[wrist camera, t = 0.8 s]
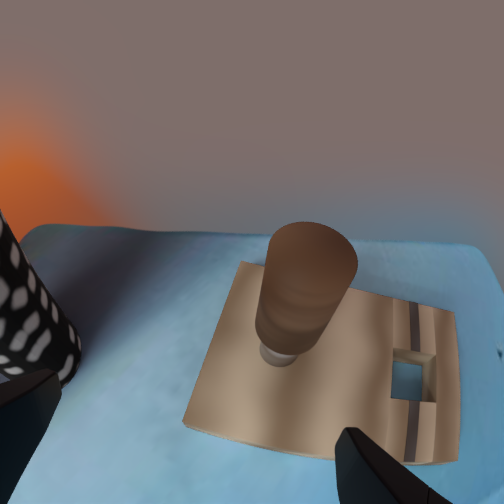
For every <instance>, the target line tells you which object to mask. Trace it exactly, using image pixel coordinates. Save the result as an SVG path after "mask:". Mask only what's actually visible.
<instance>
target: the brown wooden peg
mask: <svg viewBox="0 0 504 504" xmlns="http://www.w3.org/2000/svg"><path fill="white" fill-rule="evenodd" d="M357 268H358V260H357V255H356V252H355V250H354V248H353V247H352V245H351V244H350V242H349V241H348V240H347V239H346V238H345V237H344V236H343V235H341V234H340V233H339V232H337V231H335V230H334V229H332V228H330V227H328V226H325V225H322V224H319V223H314V222H296V223H291V224H288V225H286V226H283V227H282V228H280V229H279V230H277V231H276V232H275V233H274V234H273V236H272V238H271V239H270V242H269V246H268V251H267V257H266V263H265V268H264V274H263V279H262V285H261V291H260V296H259V302H258V307H257V313H256V318H255V329H256V333H257V335H258V337H259V339H260V340H261V343H260V354H261V356H262V358H263V359H264V361H265V362H267V363H268V364H270V365H272V366H275V367H285V366H288V365H290V364H292V363H293V362H294V361H295V360H296V358H297V357H298V355H299V354H302V353H305V352H307V351H309V350H310V349H311V348H313V347H314V346H315V344H316V343H317V342H318V340H319V338H320V337H321V335H322V333H323V332H324V330H325V328H326V327H327V325H328V323H329V321H330V320H331V318H332V316H333V315H334V313H335V311H336V309H337V307H338V306H339V304H340V302H341V300H342V299H343V297H344V295H345V293H346V291H347V289H348V288H349V286H350V284H351V282H352V280H353V278H354V276H355V275H356V272H357Z"/></svg>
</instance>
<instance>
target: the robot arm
mask: <svg viewBox="0 0 504 504" xmlns="http://www.w3.org/2000/svg"><path fill="white" fill-rule="evenodd" d="M61 395H62V391H61V385H60V380H59V375H58V373H57V372H55V371H53V370H50V369H43V370H40V371H37V372H34V373H31V374H28V375H25V376H22V377H19V378H16V379H13V380H10V381H7V382H4V383H1V384H0V504H7V503H8V501H9V499H10V497H11V495H12V493H13V491H14V489H15V487H16V485H17V483H18V481H19V479H20V478H21V476H22V474H23V472H24V470H25V468H26V466H27V464H28V463H29V461H30V459H31V457H32V455H33V454H34V452H35V450H36V448H37V447H38V445H39V443H40V441H41V440H42V438H43V436H44V434H45V432H46V430H47V428H48V426H49V424H50V421H51V419H52V417H53V414H54V412H55V410H56V408H57V405H58V403H59V401H60V399H61ZM335 464H336V479H337V490H338V496H339V501H340V504H453V503H451V502H450V501H448V500H447V499H445V498H444V497H442V496H441V495H440V494H438V493H437V492H436V491H434V490H433V489H432V488H430V487H429V486H428V485H427V484H425V483H424V482H423V481H421V480H420V479H419V478H418V477H416V476H415V475H414V474H413V473H411V472H410V471H409V470H408V469H407V468H405V467H404V466H403V465H402V464H400V463H399V462H398V461H397V460H396V459H394V458H393V457H392V456H391V455H390V454H388V453H387V452H386V451H385V450H384V449H382V448H381V447H380V446H379V445H378V444H377V443H375V442H374V441H373V440H372V439H371V438H370V437H368V436H367V435H366V434H365V433H364V432H363V431H361V430H360V429H359V428H358V427H345V428H344V429H343V430H342V432H341V434H340V436H339V438H338V440H337V442H336V444H335Z"/></svg>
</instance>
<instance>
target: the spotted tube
mask: <svg viewBox="0 0 504 504" xmlns="http://www.w3.org/2000/svg"><path fill="white" fill-rule="evenodd" d="M80 357H81V342H80V338H79V335H78V333H77V330H76V329H75V327H74V326H73V325H72V323H71V322H70V321H69V319H68V318H67V317H66V315H65V314H64V313H63V311H62V310H61V308H60V307H59V306H58V304H57V303H56V301H55V300H54V299H53V297H52V296H51V294H50V293H49V291H48V290H47V288H46V287H45V285H44V284H43V282H42V281H41V279H40V278H39V276H38V275H37V273H36V272H35V270H34V268H33V267H32V265H31V264H30V262H29V260H28V259H27V257H26V255H25V254H24V252H23V250H22V249H21V247H20V245H19V243H18V242H17V240H16V238H15V236H14V235H13V233H12V231H11V229H10V227H9V225H8V224H7V221H6V220H5V218H4V216H3V214H2V212H1V210H0V373H1V374H3V375H4V376H5V377H7V378H8V379H10V380H13V379H16V378H19V377H22V376H25V375H28V374H31V373H34V372H37V371H40V370H43V369H50V370H53V371H55V372H57V373H58V375H59V380H60V385H61V389H62V388H63V387H64V386H65V385H67V384H68V383H69V381H70V380H71V379H72V378H73V376H74V374H75V372H76V370H77V368H78V365H79V362H80Z"/></svg>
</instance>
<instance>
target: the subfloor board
mask: <svg viewBox="0 0 504 504" xmlns="http://www.w3.org/2000/svg"><path fill="white" fill-rule="evenodd" d="M264 268H265V267H264V266H260V265H256V264H252V263H248V262H244V261H241V262H240V265H239V268H238V270H237V273H236V276H235V278H234V281H233V284H232V287H231V289H230V292H229V295H228V297H227V300H226V303H225V305H224V308H223V311H222V314H221V316H220V319H219V322H218V324H217V327H216V330H215V333H214V335H213V338H212V341H211V343H210V346H209V349H208V352H207V354H206V357H205V360H204V363H203V365H202V368H201V371H200V374H199V376H198V379H197V382H196V384H195V387H194V390H193V393H192V395H191V398H190V401H189V404H188V406H187V409H186V412H185V415H184V418H183V420H182V422H183V423H184V424H185V426H186V427H188V428H191V429H194V430H198V431H201V432H204V433H207V434H210V435H214V436H217V437H220V438H224V439H228V440H231V441H235V442H239V443H243V444H247V445H251V446H255V447H259V448H263V449H268V450H273V451H277V452H282V453H288V454H293V455H299V456H305V457H311V458H318V459H325V460H333V461H335V444H336V442H337V440H338V438H339V436H340V434H341V432H342V430H343V429H344V428H345V427H358V428H359V429H360V430H361V431H363V432H364V433H365V434H366V435H367V436H368V437H370V438H371V439H372V440H373V441H374V442H375V443H377V444H378V445H379V446H380V447H381V448H382V449H384V450H385V451H386V452H387V453H388V454H390V455H391V456H392V457H393V458H394V459H396V460H397V461H398V462H399V463H400V464H402V465H442V464H446V463H450V462H454V461H458V452H459V437H460V372H459V356H458V344H457V334H456V325H455V317H454V312H451V311H447V310H442V309H438V308H434V307H429V306H425V305H421V304H418V303H415V302H410V301H409V302H408V301H404V300H400V299H395V298H391V297H387V296H383V295H379V294H374V293H370V292H366V291H362V290H358V289H354V288H350V287H349V288H348V289H347V291H346V293H345V295H344V297H343V299H342V300H341V302H340V304H339V306H338V307H337V309H336V311H335V313H334V315H333V316H332V318H331V320H330V321H329V323H328V325H327V327H326V328H325V330H324V332H323V333H322V335H321V337H320V338H319V340H318V342H317V343H316V344H315V346H314V347H313V348H311V349H310V350H309V351H307V352H305V353H302V354H299V355H298V357H297V358H296V360H295V361H294V362H293V363H292V364H290V365H288V366H285V367H275V366H272V365H270V364H268V363H267V362H265V361H264V359H263V358H262V356H261V354H260V343H261V340H260V339H259V337H258V335H257V333H256V329H255V318H256V313H257V307H258V302H259V296H260V291H261V285H262V279H263V274H264ZM393 361H396V362H402V363H408V364H414V365H421V366H422V401H414V400H402V399H393V398H390V397H391V383H392V364H393Z"/></svg>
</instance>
